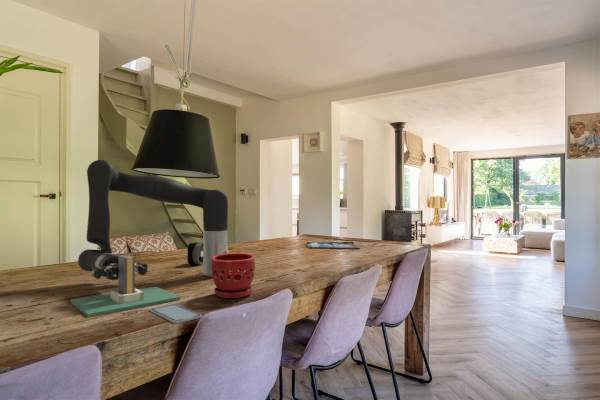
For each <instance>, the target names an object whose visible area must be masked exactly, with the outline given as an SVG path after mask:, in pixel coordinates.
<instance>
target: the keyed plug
mask: <svg viewBox="0 0 600 400" xmlns="http://www.w3.org/2000/svg"><path fill="white" fill-rule="evenodd" d="M135 261H136V257H135V256H134V255H130V254H125V255H119V258H118V279H117V281H118V283H117V284H118V286H117V287H118V288H117V290H118V293H120V294H131V293H135V288H136V287H135V286H136V285H135V279H136V276H135V275H136V274H135V263H136V262H135Z"/></svg>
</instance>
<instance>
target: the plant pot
mask: <svg viewBox="0 0 600 400" xmlns="http://www.w3.org/2000/svg"><path fill="white" fill-rule="evenodd" d="M255 259H256V258H255V255H254V254H250V253H245V252H244V253H242V252H240V253H239V252H235V253H233V252H232V253H228V254H221V255H216V256H214V257H212V259H211V268H212V275H213V276H212V280H213V283H214V285H215V287H214V290H213V291H214V294H215V295H216V296H218V297H220V298H225V299H239V298H244V297H247V296H248V295H250V294H251V293H252V292H253V289H254V287H253V286H251V285H252V283H253V280H254V278H255V277H254V275H255V267H256V265H255V264H256V261H255Z"/></svg>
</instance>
